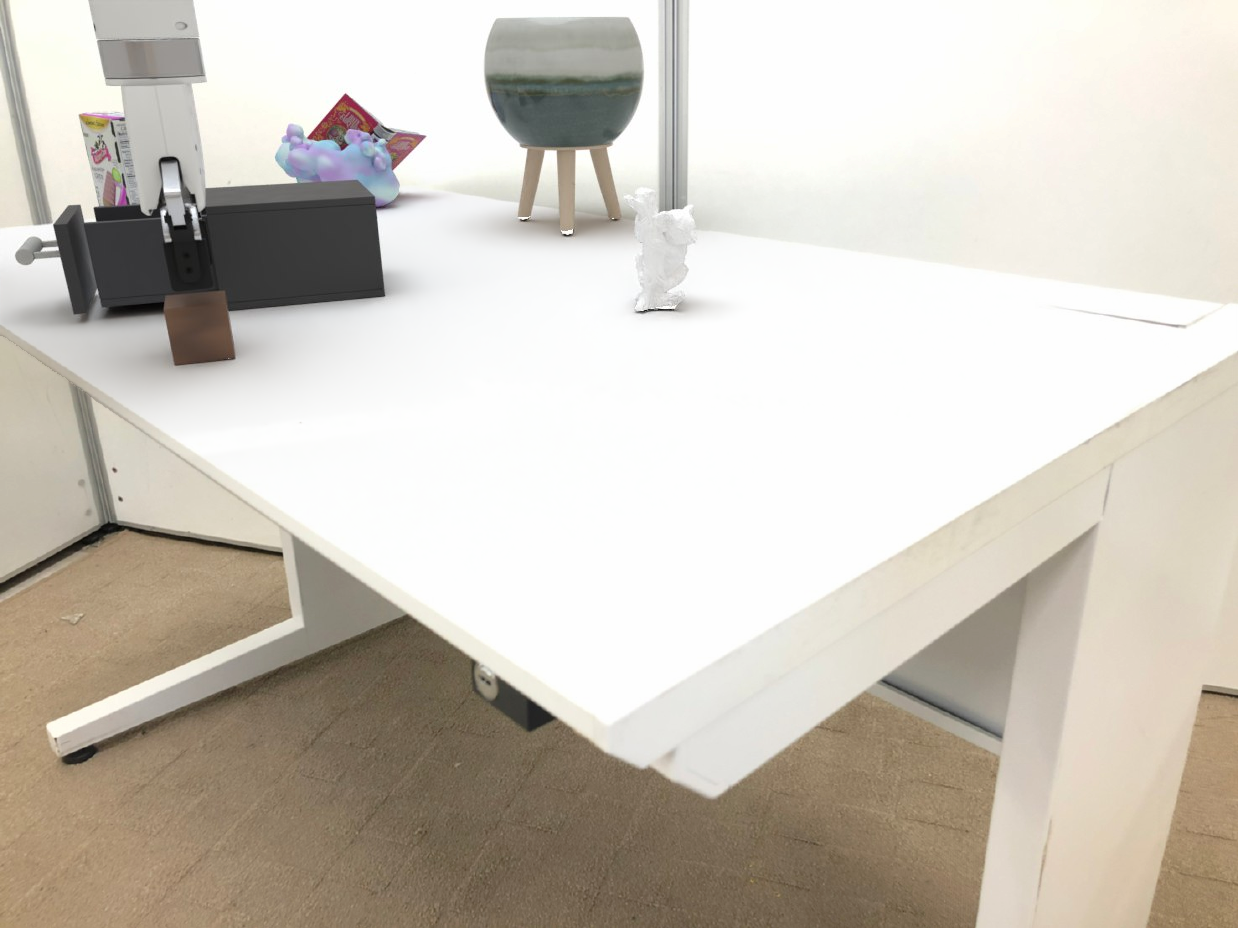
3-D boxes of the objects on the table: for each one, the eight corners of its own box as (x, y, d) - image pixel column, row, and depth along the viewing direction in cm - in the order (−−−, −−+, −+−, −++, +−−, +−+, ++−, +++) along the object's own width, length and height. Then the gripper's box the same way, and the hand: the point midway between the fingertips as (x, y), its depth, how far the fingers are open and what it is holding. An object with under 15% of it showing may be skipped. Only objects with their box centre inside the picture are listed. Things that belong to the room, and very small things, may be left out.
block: (174, 365, 86) (163, 308, 84) (175, 349, 91) (165, 295, 89) (235, 358, 88) (226, 303, 86) (234, 343, 92) (225, 290, 90)
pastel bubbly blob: (262, 186, 152) (312, 78, 147) (266, 163, 170) (311, 67, 166) (385, 248, 161) (436, 148, 156) (377, 220, 179) (422, 129, 175)
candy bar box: (102, 234, 142) (76, 113, 136) (137, 229, 146) (113, 110, 139) (135, 245, 135) (109, 117, 129) (171, 239, 139) (148, 114, 132)
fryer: (222, 311, 103) (204, 206, 99) (220, 282, 115) (204, 188, 110) (385, 296, 108) (375, 196, 104) (367, 270, 120) (357, 179, 116)
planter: (657, 214, 154) (658, 17, 143) (625, 242, 135) (624, 16, 123) (520, 210, 159) (511, 19, 148) (470, 236, 139) (455, 18, 128)
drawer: (24, 319, 97) (1, 228, 94) (42, 290, 108) (22, 207, 104) (239, 299, 104) (225, 213, 100) (236, 274, 114) (223, 196, 111)
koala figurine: (638, 318, 99) (638, 194, 94) (607, 303, 105) (605, 186, 100) (710, 308, 103) (713, 188, 98) (676, 294, 108) (678, 180, 103)
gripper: (111, 63, 86) (151, 262, 93) (91, 68, 71) (141, 304, 78) (204, 61, 88) (237, 255, 95) (203, 65, 74) (242, 294, 80)
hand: (193, 277), depth 87 cm, fingers open, 9 cm apart
